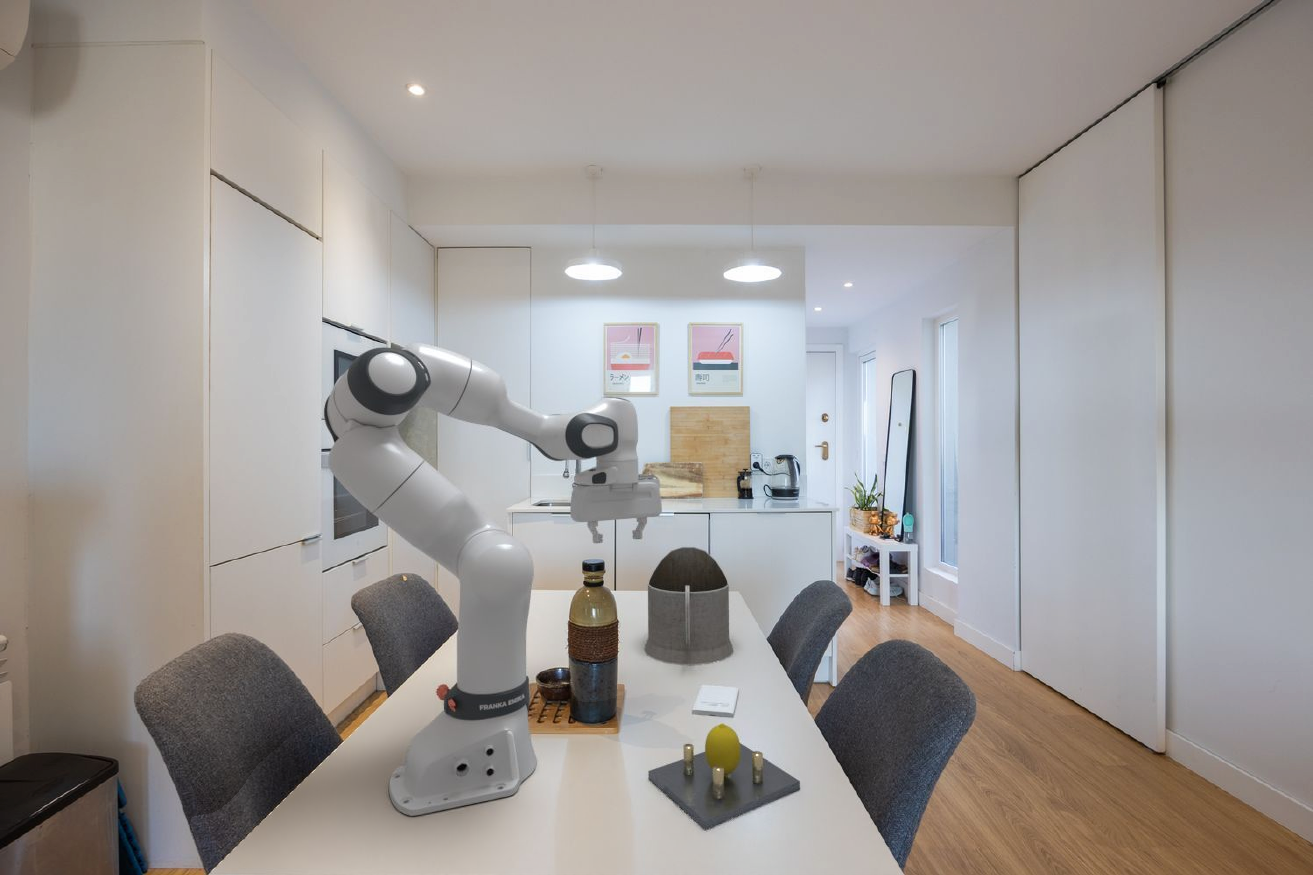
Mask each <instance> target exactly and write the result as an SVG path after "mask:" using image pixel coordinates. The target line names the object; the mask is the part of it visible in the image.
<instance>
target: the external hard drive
mask: <svg viewBox="0 0 1313 875" xmlns="http://www.w3.org/2000/svg"><path fill="white" fill-rule="evenodd" d="M739 694H740V689H739V687H735V686H724V685H723V686H722V685H712V684H711V685H708V684H702V685H700V688H699V691H698V693H697V696H696V699H695V701H694V703H693V707H692V708H691V709H692V710H691V715H699V716H715V717H721V718H731V719H733V718H735V713H736V709H737V708H736V706H737V703H738V699H739Z"/></svg>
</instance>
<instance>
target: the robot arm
mask: <svg viewBox="0 0 1313 875" xmlns="http://www.w3.org/2000/svg"><path fill="white" fill-rule="evenodd" d="M507 393H508V392H507V385H506V382H505V381H504V379H503V377H502V376H501V375H500V374H499V373H498V372H496V371H495V370H493V369H492V368H490V367H489V366H488V365H485V364H483V363H481V362H480V361H477V360H475V359H473V358H470V357H468V356H465V355H463V354H461V353H458V352H455V351H452V350H449V349H446V348H443V347H440V346H435V345H432V344H428V343H423V342H413V343H409V344H407V345H405V346H404V347H402V348H401V349H399V348H394V347H385V346H384V347H376V348H372V349H369V350H367V351H365V352H363V353H361V354H360V355H358V356H357V357H356V358H355V359H354V360H353V361H352V362H351V364H350V365H349V366H348V368H347V370H346V371H345V372H344V373H343V374H341V376H339V378H338V379H337V380H336V382H335V383H334V385H333V388H332V390H331V392H330V394H329V395H328V397H327V399H326V401H325V403H324V408H323V418H324V419H323V420H324V423H325V426H326V428H327V430H328V432H329V433H330V435H331V437H332V439H333V443H334V444H333V446H332V447H331V449H330V451H329V453H328V457H327V464H328V467H329V468H328V469H329V471H330V472H331V473H332V474H333V476H334V477H335V478H336V479H337V481H338V482H339V483H340V484H341V486H343V487H344V489H345V490H346V491H347V492H348V493H349V494H350V495H351V496H352V497H353V498H355V500H356V501H357V502H358V503H360V504H361V506H363V507H364V508H365V509H366V510H368V511H369V512H370V513H372V515H374V516H375V517H376V518H377V519H379V520H380V521H381V522H383V523H384V524H385V525H386V526H387V527H388V528H390V529H391V530H392V531H394V532H395V533H396V534H397V535H399V537H401V538H402V539H403V540H405V541H406V542H407V543H409V544H410V545H411V546H413V547H414V548H416V549H417V550H419V551H420V552H422V553H423V554H425V555H426V556H428V557H429V558H430V559H432V560H433V561H435V562H436V563H437V564H439V565H440V566H442V567H443V568H444V569H446V570H447V571H449V572H450V573H451V574H452V575H453V576H455V577H456V578H457V579H458V580H459V586H460V587H459V607H458V608H459V610H458V624H457V626H458V627H457V633H456V683H455V684H454V685H453V686H452V687H451V688H450V687H449V686H448V685H447V684H445V683H443V684H442V683H441V684H439V686H438V687H437V688H435V689H436V691H435V693H436V696H437V698H438V699H439V700H441V701H443V711H442V712H440V713H439V714H438V715H437V716H436V717H435V718H434V719H432V720H431V721H430V723H428V724H427V725H425V726H424V727H423V728H422V729H421V730H420V731H419V732H418V733H417V734H416V735H415V736H413V738H412V739H411V741H410V743H409V745H408V748H407V752H406V756H405V757H406V758H405V763H404V764H403V765H401V766H398V767H396V769H395V770H394V771H393V772H392V774H391V775H390V778H389V779H390V780H389V785H388V786H389V787H388V792H389V797H390V799H391V803H392V804H393V806H394V807H395V808H396V809H397V811H399V812H401V813H402V814H405V815H406V816H410V817H414V816H421V815H425V814H429V813H433V812H435V813H436V812H440V811H443V810H444V811H445V810H449V809H453V808H454V809H455V808H459V807H463V806H467V805H472V804H477V803H481V802H486V801H492V800H497V799H500V798H506V797H511V796H513V795H514V794H516V792H517V791H518V789H520V786H521V783H523V781H524V780H526V779H527V778H528V777H529V776H531V774H532V773H533V772H534V770H535V769H536V767H537V762H538V761H537V756H536V753H535V750H534V747H533V742H532V737H531V731H530V723H529V714H528V711H530V700H531V699H530V698H531V689H530V680H529V676H528V675H527V629H528V620H529V612H530V607H531V606H530V605H531V597H532V588H533V586H532V585H533V581H534V572H535V570H534V569H535V568H534V562H533V557H532V555H531V552H530V550H529V549H528V548H527V546H526V545H525V544H524V543H523V542H522V541H520V540H519V539H518V538H517V537H515V536H514V535H513V534H511V533H510V532H509V531H507V530H506V529H504V527H502V526H501V525H500V524H499V523H498V522H497V521H495V520H494V519H493V518H492V517H491V516H489V515H488V514H487V513H486V512H485V511H484V510H483V509H482V508H480V507H479V505H477V504H476V503H475V502H474V501H473V500H471V499H470V498H469V497H468V496H467V495H466V494H465V493H464V492H463V491H462V490H460V489H459V488H458V487H457V486H456V485H455V484H453V483H452V482H451V481H450V480H449V479H447V478H446V477H445V476H444V475H443V474H442V473H440V472H439V471H438V469H436V468H435V467H433V465H432V464H430V463H429V462H427V460H425V459H424V458H423V457H421V455H419V454H418V453H417V452H416V451H414V450H413V449H411V448H410V447H409V446H408V445H407V444H406V443H405V440H404V439H403V438H402V436H401V435H400V432H399V429H398V426H399V424H401V422H403V420H405V418H406V417H407V416H408V414H409V413H410V411H411V410H412V409H413V408H414V407H419V408H420V407H421V408H426V409H430V410H432V411H435V412H436V413H439V414H442V415H444V416H447V417H449V418H453V419H456V420H458V421H462V422H466V423H470V424H474V425H475V424H476V425H479V426H480V425H481V426H485V427H493V428H496V429H499V430H501V431H502V432H506V433H508V434H509V435H513V436H515V437H518V438H520V439H522V440H524V441H527V442H529V444H531V445H533V446H534V448H536V449H537V451H538V452H540V453H541V454H542V455H543V456H544V457H545V458H547V459H549V460H551V461H553V462H554V461H555V462H563V461H569V460H570V461H578V460H579V461H584V460H590V459H594V458H596V462H595V463H596V464H595V465H596V466H594V467H591V468H589V469H586V470H584V471H581V472H578V473H576V474H575V475H574V478H573V479H574V483H575V485H576V486H575V487H574V488H572V489H573V490H572V492H571V499H570V508H569V509H570V513H569V514H570V517H571V519H572V520H573V522H577V523H587V524H586V525H587V528H588V530H589V531H590V533H591V534H592V543H593V544H600V543H601V544H602V543H603V542H604V539H603V537H604V534H603V533H599V531H598V530H597V527H598V526H599V522H603V521H605V522H606V521H613V520H614V521H616V520H629V519H636V522H637V526H636V528H635V530H634V529H633V530H632V531H631V532H632V533H631V534H632V539H633V540H642V539H643V531H644V529H645V527H646V525H647V523H648V518H653V517H659V516H660V515H661V513H662V511H663V510H662V509H663V508H662V507H663V505H662V497H661V490H660V489H661V488H660V487H661V481H660V479H659V477H657V476H656V475H655V474H654V473H647V474H644V473H639V457H638V453H637V445H638V442H639V428H638V427H639V425H638V424H639V423H638V416H637V410H636V407H635V405H634V403H633V402H632V401H630V400H628V399H626V398H623V397H616V396H615V397H614V396H603V397H601V398H599V400H598V401H596V402H595V403H594V404H592V405H590V406H589V407H586V408H584V409H581V410H579V411H576V412H572V413H565V414H561V413H559V414H558V413H557V414H542V413H540V412H538V411H536V410H534V409H531V408H529V407H527V406H525V405H522V404H520V403H518V402H517V401H514V400H512V399H511V398H510V397H509V396H508V394H507Z"/></svg>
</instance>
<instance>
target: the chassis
mask: <svg viewBox="0 0 1313 875" xmlns="http://www.w3.org/2000/svg"><path fill="white" fill-rule="evenodd" d="M740 747H741V755H740V761H739V764H738V766H737V767H736V769H735V770H734V771H733V772H731V773H729V774H726V775H725V776H724V768H723V766H720V765H716V766H714V767H713V770H712V769H711V768H710V766H709V764H708V763H707V760H706V756H705V751H702V752H699V753H697V754H695V755H694V745H693V744H691V743H685V744H683V758H682V759H680V760H677V761H673V762H671V763H667V764H665V765H662V766H660V767H659V766H658V767H656V768H653V769H650V770H648V774H647V775H648V780H649V781H650V782H652V784H654V785H655V787H657V788H658V789H659V790H660V791H662V792H663V793H664V794H665V795H666V796H667V797H668V798H669V799H670V800H671V801H673V802H674V803H675V804H676V805H677V806H678V807H679V808H680V809H681V810H682V811H684V812H685V813H686V814H687V815H688V816H689V817H690V818H691V819H692V820H694V822H696V824H698V825H699V826H701V828H702V829H703V830H705V831H706V830H708V829H711V828H713V827H716V826H718V825H721V824H722V823H725V822H727V821H729V820H732V819H734V818H737V817H739V816H741V815H743V814H745V813H747V812H750V811H753V810H754V809H757V808H760V807H762V806H764V805H767V804H769V803H771V802H774V801H775V800H779V799H780V798H783V797H785V796H788V795H790V794H792V793H794V792H796V791H798V790H801V781H800V780H799V779H797V778H795V777H794V776H792V775H791V774H789V773H788V772H787V771H785V770H783V769H781V768H780V767H779V766H777V765H775V764H774V763H773V762H771V761H769V759H766V758H764V755H763V754H764V753H763V752H762V751H759V750H755V751H754V750H752V749H751V748H749V747H748V746H746V745H744V744H742V743H741V742H740Z"/></svg>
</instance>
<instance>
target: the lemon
mask: <svg viewBox="0 0 1313 875" xmlns="http://www.w3.org/2000/svg"><path fill="white" fill-rule="evenodd" d="M740 743H741V742H740V739H739V737H738V734H737V732H736V731H735V730H734V729H733V728H732V727H730V726H729V725H726V724H725V723H720V724H718V725H715V726H713V727H712V728H711V729H710V730H709V732H708V734H707V736H706V739H705V743H704V744H705V745H704V752H705V756H706V760H707V763H708V764H709V766H710V768H711V769H712V770H713V767H714V766H716V765H720V766H723V768H724V776H725V775H726V774H729V773H731V772H733V771H734V770H735V769H736V767H737V766H738V764H739V761H740V755H741V747H740Z"/></svg>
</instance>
